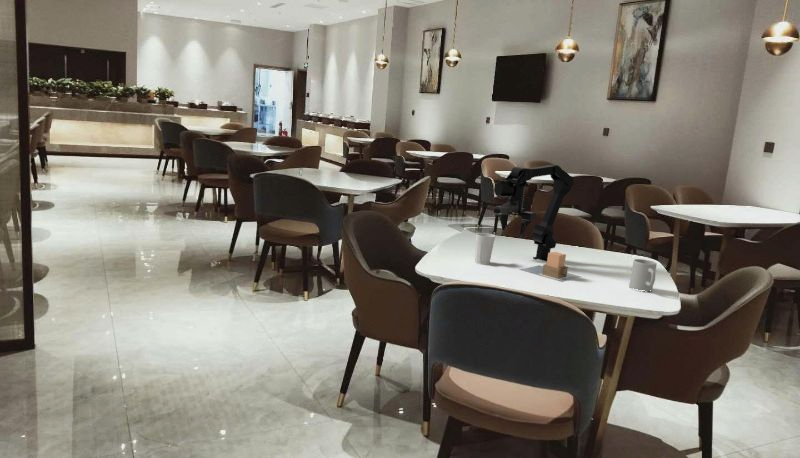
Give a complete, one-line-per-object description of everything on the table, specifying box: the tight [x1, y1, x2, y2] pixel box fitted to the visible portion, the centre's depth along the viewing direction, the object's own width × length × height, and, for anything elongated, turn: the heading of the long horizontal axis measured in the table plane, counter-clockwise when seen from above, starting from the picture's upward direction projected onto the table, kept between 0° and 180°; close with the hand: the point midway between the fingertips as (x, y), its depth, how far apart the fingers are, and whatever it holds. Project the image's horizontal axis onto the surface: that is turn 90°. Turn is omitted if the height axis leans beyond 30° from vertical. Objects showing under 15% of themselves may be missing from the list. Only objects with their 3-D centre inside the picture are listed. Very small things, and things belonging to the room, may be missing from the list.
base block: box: [542, 263, 569, 279], centre depth 242 cm, size 7×7×4 cm
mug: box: [628, 258, 657, 291], centre depth 234 cm, size 12×8×11 cm
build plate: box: [518, 264, 582, 283], centre depth 246 cm, size 16×20×1 cm
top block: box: [546, 251, 567, 268], centre depth 241 cm, size 5×5×5 cm
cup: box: [474, 232, 496, 266], centre depth 255 cm, size 8×8×12 cm
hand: (512, 232), depth 262 cm, fingers open, 9 cm apart
